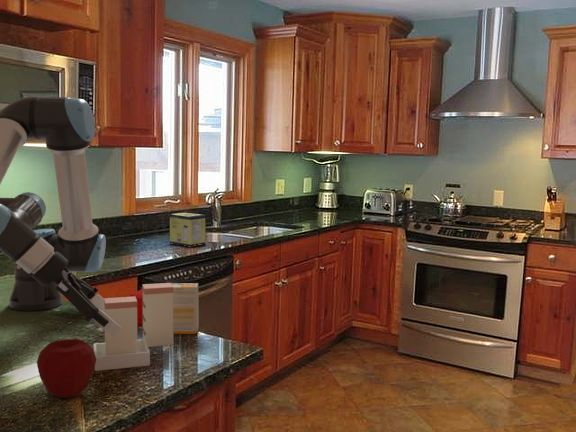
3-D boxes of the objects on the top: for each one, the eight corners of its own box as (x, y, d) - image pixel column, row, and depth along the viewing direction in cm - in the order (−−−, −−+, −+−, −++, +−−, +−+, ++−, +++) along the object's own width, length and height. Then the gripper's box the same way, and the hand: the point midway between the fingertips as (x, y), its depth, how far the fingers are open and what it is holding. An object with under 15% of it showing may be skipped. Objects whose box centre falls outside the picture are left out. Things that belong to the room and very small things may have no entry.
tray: (93, 356, 138) (93, 343, 137) (145, 351, 142) (145, 339, 141) (94, 370, 129) (94, 357, 128) (149, 365, 133) (149, 352, 132)
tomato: (130, 317, 169) (130, 282, 168) (173, 318, 169) (174, 284, 167) (118, 329, 158) (117, 292, 157) (164, 330, 158) (164, 294, 156)
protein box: (183, 241, 302) (184, 212, 300) (205, 245, 293) (206, 214, 291) (169, 244, 293) (169, 213, 292) (191, 247, 285) (191, 216, 283)
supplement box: (199, 329, 160) (199, 282, 158) (196, 334, 155) (197, 287, 153) (169, 328, 159) (169, 282, 158) (165, 334, 155) (165, 286, 153)
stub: (105, 356, 136) (104, 298, 134) (135, 353, 138) (135, 296, 137) (105, 363, 132) (105, 303, 130) (137, 360, 134) (137, 301, 133)
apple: (25, 400, 113) (24, 343, 112) (64, 380, 123) (63, 327, 122) (70, 411, 109) (69, 351, 108) (107, 389, 119) (106, 334, 118)
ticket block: (142, 341, 149) (142, 284, 147) (170, 338, 151) (170, 282, 149) (144, 347, 144) (144, 288, 143) (173, 344, 147) (173, 287, 145)
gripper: (33, 263, 137) (100, 319, 145) (26, 289, 114) (106, 354, 121) (57, 240, 139) (122, 297, 146) (54, 261, 115) (132, 327, 123)
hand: (115, 323), depth 134 cm, fingers open, 13 cm apart
